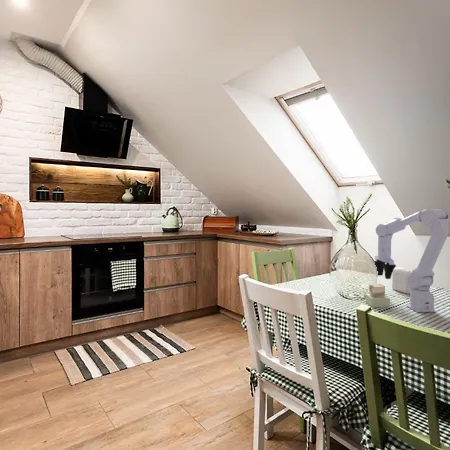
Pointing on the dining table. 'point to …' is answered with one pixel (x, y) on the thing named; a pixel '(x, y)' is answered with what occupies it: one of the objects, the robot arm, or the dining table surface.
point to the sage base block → (378, 301)
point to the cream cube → (376, 290)
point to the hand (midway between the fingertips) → (384, 277)
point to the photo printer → (401, 280)
